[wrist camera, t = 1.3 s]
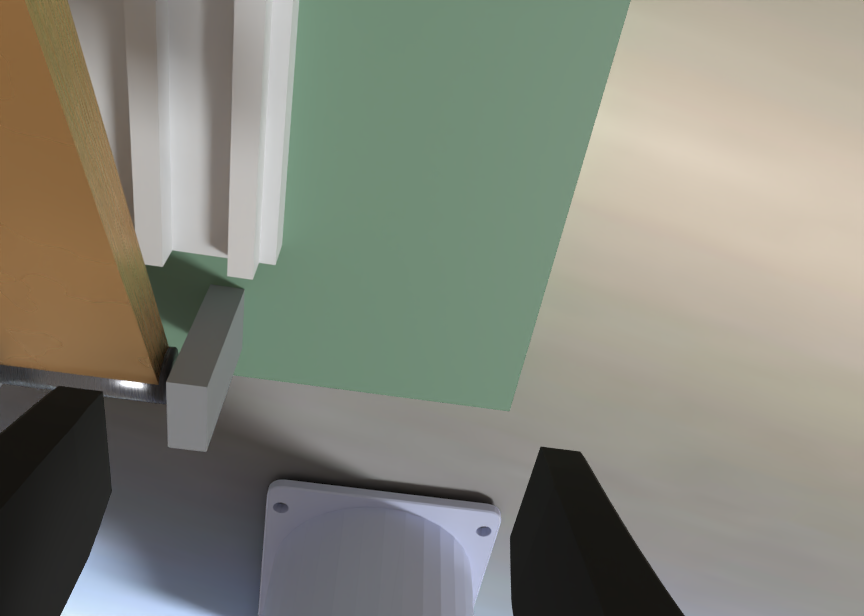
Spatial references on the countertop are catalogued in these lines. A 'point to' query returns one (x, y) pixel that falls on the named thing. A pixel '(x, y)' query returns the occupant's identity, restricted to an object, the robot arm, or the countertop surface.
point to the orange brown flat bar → (67, 225)
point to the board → (347, 183)
